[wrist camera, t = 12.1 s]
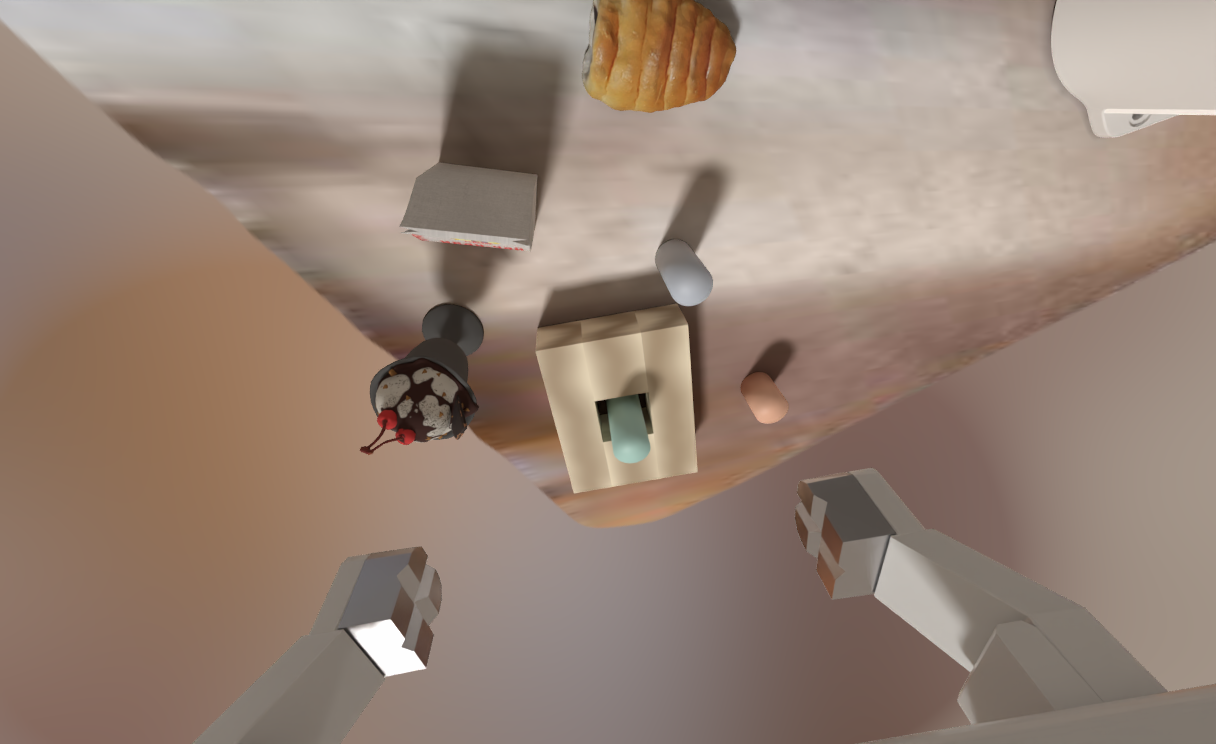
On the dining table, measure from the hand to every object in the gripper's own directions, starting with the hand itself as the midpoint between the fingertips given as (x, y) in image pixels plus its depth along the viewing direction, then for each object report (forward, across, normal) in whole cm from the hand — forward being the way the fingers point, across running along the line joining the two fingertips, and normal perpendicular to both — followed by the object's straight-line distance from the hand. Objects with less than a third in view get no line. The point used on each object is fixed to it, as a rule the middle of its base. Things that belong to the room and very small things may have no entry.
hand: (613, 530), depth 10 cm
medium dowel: (+29, -7, +5) cm, 30 cm away
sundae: (+29, +12, +8) cm, 33 cm away
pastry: (+30, -6, -9) cm, 32 cm away
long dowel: (+29, -1, +17) cm, 34 cm away
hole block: (+29, -1, +17) cm, 34 cm away
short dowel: (+29, -14, +19) cm, 38 cm away
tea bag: (+29, +6, -2) cm, 30 cm away
